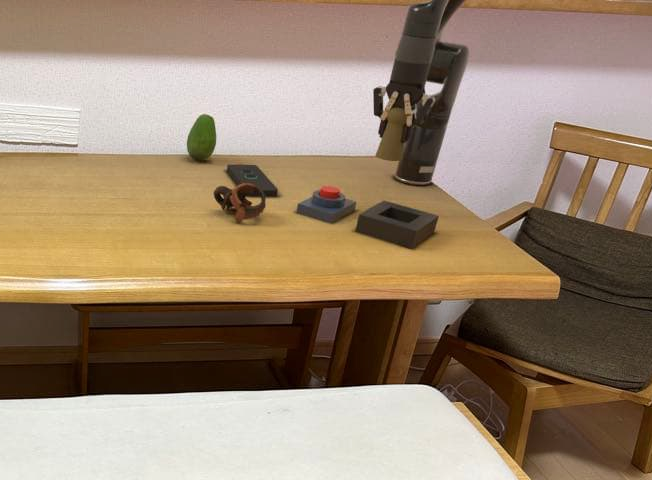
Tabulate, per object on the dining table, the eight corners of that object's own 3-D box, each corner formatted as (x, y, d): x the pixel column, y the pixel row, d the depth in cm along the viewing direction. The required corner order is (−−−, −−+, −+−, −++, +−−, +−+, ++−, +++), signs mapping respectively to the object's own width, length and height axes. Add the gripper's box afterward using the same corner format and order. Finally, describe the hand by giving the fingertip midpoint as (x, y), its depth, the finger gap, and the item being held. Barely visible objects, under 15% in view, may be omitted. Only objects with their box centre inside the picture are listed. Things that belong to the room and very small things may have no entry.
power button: (324, 191, 176) (326, 184, 175) (341, 196, 174) (343, 189, 173) (315, 196, 173) (317, 188, 172) (333, 201, 171) (334, 193, 170)
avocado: (215, 165, 200) (220, 118, 193) (185, 163, 200) (190, 116, 193) (212, 156, 207) (218, 111, 200) (184, 154, 207) (188, 109, 200)
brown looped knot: (261, 211, 174) (273, 187, 167) (251, 241, 170) (263, 218, 163) (212, 192, 174) (223, 167, 167) (201, 221, 170) (212, 197, 162)
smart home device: (256, 164, 197) (279, 190, 181) (255, 170, 198) (278, 197, 182) (226, 163, 196) (246, 189, 180) (225, 170, 197) (245, 196, 181)
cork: (403, 162, 170) (416, 111, 163) (376, 159, 171) (388, 108, 164) (401, 154, 175) (414, 105, 168) (374, 151, 175) (386, 102, 169)
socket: (379, 217, 174) (383, 200, 172) (433, 232, 168) (439, 215, 166) (354, 231, 166) (359, 214, 164) (411, 248, 159) (416, 230, 157)
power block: (320, 200, 182) (323, 184, 179) (354, 210, 177) (358, 194, 175) (296, 212, 174) (299, 195, 171) (331, 223, 169) (335, 206, 167)
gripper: (452, 61, 159) (429, 143, 169) (389, 50, 166) (370, 130, 176) (439, 66, 154) (417, 150, 164) (374, 54, 162) (356, 135, 171)
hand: (393, 139), depth 170 cm, fingers closed on cork, 4 cm apart
